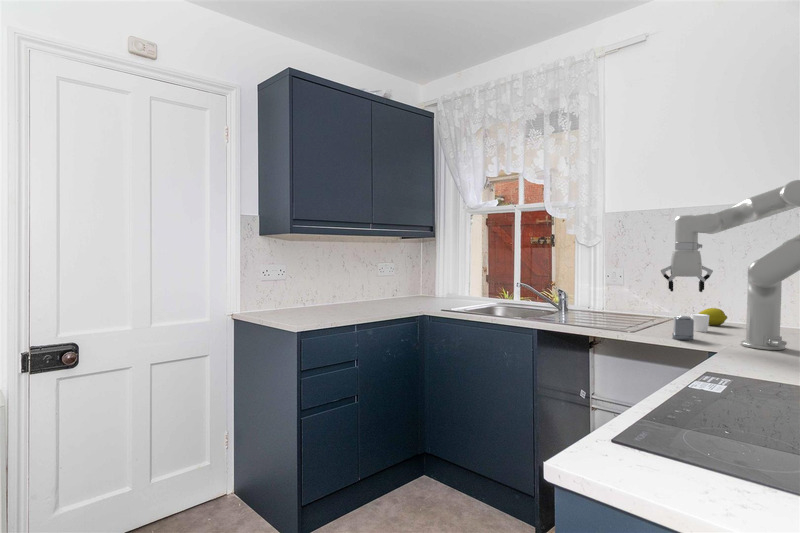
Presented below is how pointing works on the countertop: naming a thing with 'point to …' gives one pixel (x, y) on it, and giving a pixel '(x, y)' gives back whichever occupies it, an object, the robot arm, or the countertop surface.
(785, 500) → the countertop surface
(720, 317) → the lemon
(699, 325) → the white cup
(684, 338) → the toy boat
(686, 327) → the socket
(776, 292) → the robot arm
